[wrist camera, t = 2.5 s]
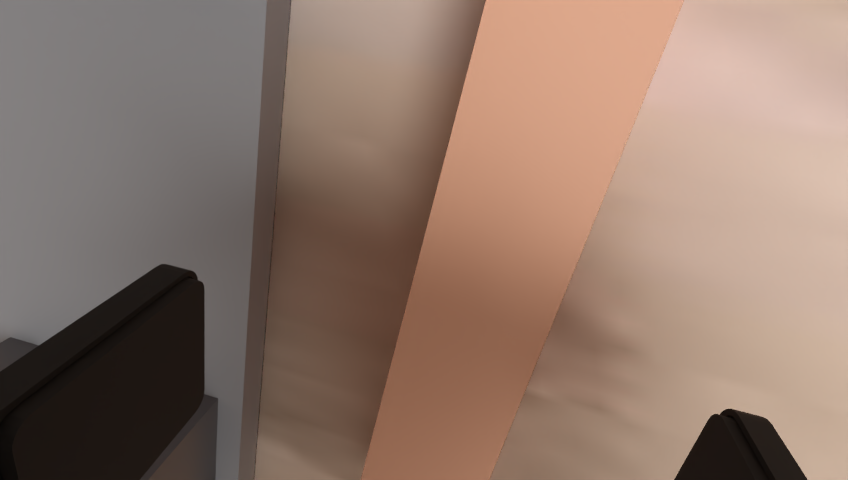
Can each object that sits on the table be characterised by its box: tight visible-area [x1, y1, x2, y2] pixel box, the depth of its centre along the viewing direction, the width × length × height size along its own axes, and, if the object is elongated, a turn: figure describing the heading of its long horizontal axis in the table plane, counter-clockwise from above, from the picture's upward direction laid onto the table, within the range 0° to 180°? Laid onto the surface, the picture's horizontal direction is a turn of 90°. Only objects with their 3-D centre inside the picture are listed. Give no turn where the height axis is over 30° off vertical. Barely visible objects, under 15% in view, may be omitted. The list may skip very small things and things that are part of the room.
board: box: [0, 0, 291, 480], centre depth 17 cm, size 27×11×2 cm, turn 169°
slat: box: [361, 0, 684, 480], centre depth 15 cm, size 20×4×5 cm, turn 166°
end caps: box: [0, 337, 218, 480], centre depth 15 cm, size 25×9×4 cm, turn 169°
